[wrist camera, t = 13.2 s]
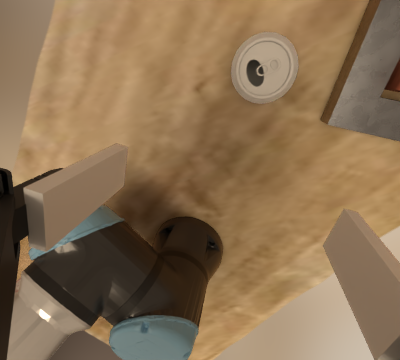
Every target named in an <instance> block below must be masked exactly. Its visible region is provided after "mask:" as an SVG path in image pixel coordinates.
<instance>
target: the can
mask: <svg viewBox="0 0 400 360" xmlns="http://www.w3.org/2000/svg"><path fill="white" fill-rule="evenodd" d="M298 67H299V66H298V55H297V53H296V50H295V48H294V46H293V44H292V43H291V42H290V41H289V40H288V39H287V38H286V37H285V36H282V35H280V34H278V33H276V32H262V33H259V34H256V35H253V36H252V37H250V38H249V39H247V40H246V41H244V42H243V44H242V45H241V46H240V47H239V49H238V50H237V51H236V54H235V56H234V58H233V61H232V68H231V76H232V82H233V85H234V87H235V88H236V90H237V92H238V93H239V94H240V95H241V96H242V97H243V98H244V99H246V100H248V101H250V102H252V103H260V104H264V103H269V102H273V101H275V100H277V99H278V98H280V97H282V96H283V95H284V94H285V93H286V92H287V91H288V90H289V89H290V88H291V86H292V84H293V82H294V81H295V79H296V76H297V71H298Z"/></svg>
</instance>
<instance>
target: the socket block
mask: <svg viewBox="0 0 400 360" xmlns="http://www.w3.org/2000/svg"><path fill="white" fill-rule="evenodd" d="M399 58H400V0H370V1H369V4H368V6H367V8H366V11H365V13H364V16H363V18H362V21H361V23H360V25H359V28H358V30H357V33H356V35H355V38H354V40H353V42H352V45H351V47H350V50H349V52H348V55H347V57H346V59H345V62H344V64H343V67H342V69H341V72H340V74H339V76H338V79H337V81H336V84H335V86H334V89H333V91H332V93H331V96H330V98H329V101H328V103H327V106H326V108H325V110H324V113H323V115H322V118H321V121H323V122H324V123H326V124H327V125H331V126H336V127H340V128H344V129H349V130H353V131H357V132H362V133H366V134H370V135H375V136H379V137H384V138H388V139H392V140H397V141H400V102H399V101H395V100H390V99H385V98H381V97H380V96H381V94H382V92H383V90H384V88H385V86H386V84H387V82H388V80H389V78H390V76H391V74H392V72H393V70H394V68H395V66H396V64H397V62H398V60H399Z"/></svg>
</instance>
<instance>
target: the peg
mask: <svg viewBox="0 0 400 360" xmlns="http://www.w3.org/2000/svg"><path fill="white" fill-rule="evenodd" d="M384 89H386V90H391V91H395V92H400V58H399V60H398V62H397V64H396V66H395V68H394V70H393V72H392V74H391V76H390V78H389V80H388V82H387V84H386V86H385V88H384Z"/></svg>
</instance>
